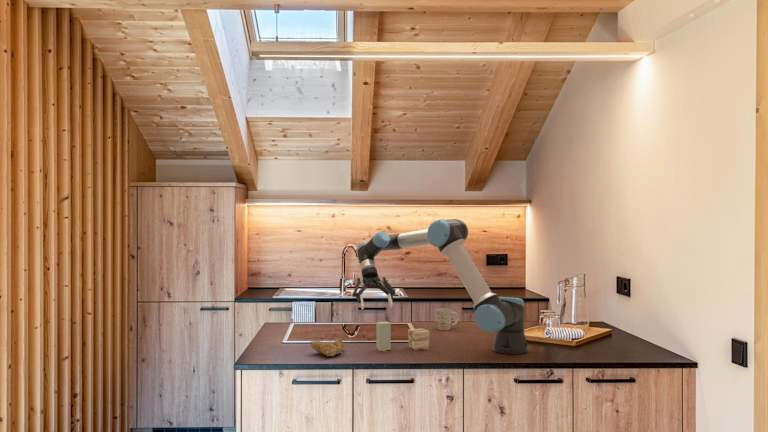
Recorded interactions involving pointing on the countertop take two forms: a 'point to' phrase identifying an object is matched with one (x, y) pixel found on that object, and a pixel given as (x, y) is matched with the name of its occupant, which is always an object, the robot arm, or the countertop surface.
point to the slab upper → (418, 335)
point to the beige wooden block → (419, 344)
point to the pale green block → (383, 335)
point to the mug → (445, 318)
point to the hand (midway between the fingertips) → (377, 307)
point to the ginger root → (328, 347)
